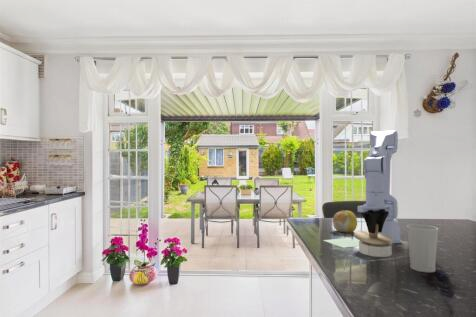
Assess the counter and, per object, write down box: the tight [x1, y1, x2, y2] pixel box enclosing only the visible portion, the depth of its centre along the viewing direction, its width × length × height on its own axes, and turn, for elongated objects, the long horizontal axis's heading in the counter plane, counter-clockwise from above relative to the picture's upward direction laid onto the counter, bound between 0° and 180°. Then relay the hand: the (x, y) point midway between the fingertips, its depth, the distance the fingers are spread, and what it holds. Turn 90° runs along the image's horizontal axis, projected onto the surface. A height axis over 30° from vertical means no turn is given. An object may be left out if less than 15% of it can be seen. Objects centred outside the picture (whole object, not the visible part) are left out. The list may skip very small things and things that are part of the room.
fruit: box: [332, 210, 358, 234], centre depth 141 cm, size 10×11×10 cm
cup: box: [406, 224, 439, 273], centre depth 92 cm, size 8×8×12 cm
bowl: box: [358, 240, 393, 258], centre depth 107 cm, size 10×10×4 cm
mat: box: [322, 237, 360, 249], centre depth 121 cm, size 12×12×1 cm
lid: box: [353, 223, 393, 245], centre depth 108 cm, size 12×12×5 cm
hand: (375, 232), depth 107 cm, fingers closed on lid, 3 cm apart
